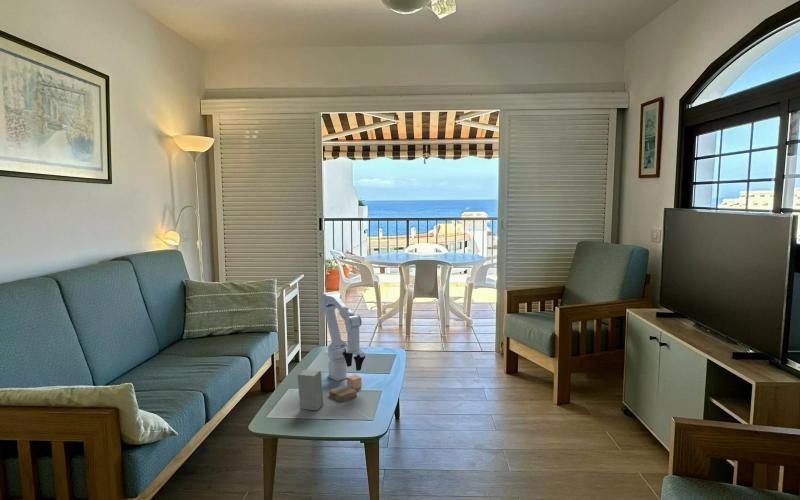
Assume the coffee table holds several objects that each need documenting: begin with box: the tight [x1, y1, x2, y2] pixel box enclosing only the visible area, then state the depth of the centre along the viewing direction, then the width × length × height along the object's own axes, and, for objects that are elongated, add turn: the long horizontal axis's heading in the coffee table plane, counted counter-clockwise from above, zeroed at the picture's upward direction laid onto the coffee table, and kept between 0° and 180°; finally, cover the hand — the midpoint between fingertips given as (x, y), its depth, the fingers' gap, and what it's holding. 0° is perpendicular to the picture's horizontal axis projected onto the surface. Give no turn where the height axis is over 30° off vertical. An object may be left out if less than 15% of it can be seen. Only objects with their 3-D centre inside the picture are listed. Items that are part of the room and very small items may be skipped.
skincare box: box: [296, 368, 324, 411], centre depth 198 cm, size 8×7×16 cm
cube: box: [346, 374, 362, 390], centre depth 220 cm, size 5×5×5 cm
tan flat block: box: [328, 384, 358, 403], centre depth 210 cm, size 9×9×3 cm
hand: (353, 368), depth 219 cm, fingers open, 7 cm apart
